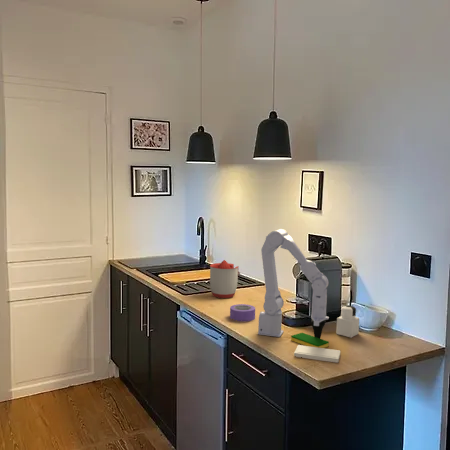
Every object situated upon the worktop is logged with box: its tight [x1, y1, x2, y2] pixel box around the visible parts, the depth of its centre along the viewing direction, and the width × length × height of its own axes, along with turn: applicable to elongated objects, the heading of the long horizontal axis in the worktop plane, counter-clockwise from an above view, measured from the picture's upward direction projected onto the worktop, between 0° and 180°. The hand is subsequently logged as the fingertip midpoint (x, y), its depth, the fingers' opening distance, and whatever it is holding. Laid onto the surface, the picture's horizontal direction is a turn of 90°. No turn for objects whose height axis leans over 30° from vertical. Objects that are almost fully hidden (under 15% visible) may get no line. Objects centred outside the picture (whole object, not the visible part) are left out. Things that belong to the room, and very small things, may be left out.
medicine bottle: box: [335, 305, 360, 338], centre depth 204 cm, size 7×7×12 cm
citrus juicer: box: [209, 259, 241, 299], centre depth 262 cm, size 16×17×20 cm
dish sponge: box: [290, 332, 330, 349], centre depth 192 cm, size 7×14×2 cm, turn 41°
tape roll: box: [229, 303, 256, 322], centre depth 224 cm, size 12×12×5 cm
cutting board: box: [293, 344, 341, 364], centre depth 179 cm, size 16×9×2 cm, turn 72°
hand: (317, 338), depth 195 cm, fingers closed
